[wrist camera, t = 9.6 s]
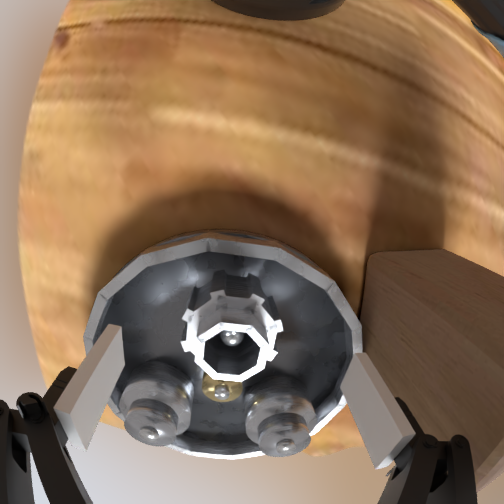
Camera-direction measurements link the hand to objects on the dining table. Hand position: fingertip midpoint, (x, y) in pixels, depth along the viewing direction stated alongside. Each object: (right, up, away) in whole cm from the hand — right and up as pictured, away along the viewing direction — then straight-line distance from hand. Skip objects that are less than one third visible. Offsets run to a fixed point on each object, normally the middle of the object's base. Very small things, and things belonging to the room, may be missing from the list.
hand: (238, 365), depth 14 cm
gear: (-1, +1, +8) cm, 8 cm away
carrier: (-2, -4, +11) cm, 12 cm away
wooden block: (+16, +2, +11) cm, 19 cm away
